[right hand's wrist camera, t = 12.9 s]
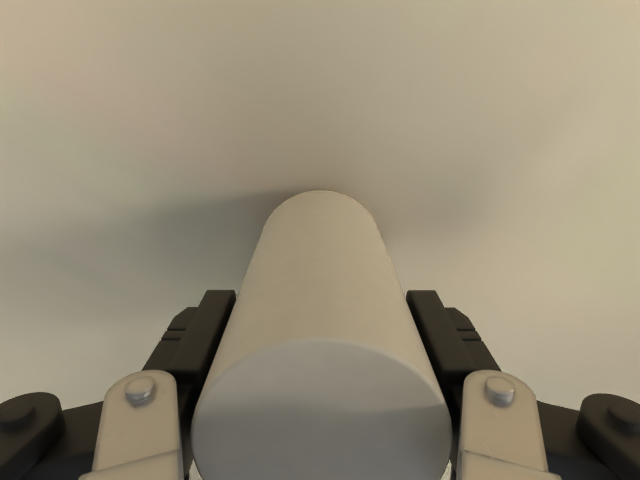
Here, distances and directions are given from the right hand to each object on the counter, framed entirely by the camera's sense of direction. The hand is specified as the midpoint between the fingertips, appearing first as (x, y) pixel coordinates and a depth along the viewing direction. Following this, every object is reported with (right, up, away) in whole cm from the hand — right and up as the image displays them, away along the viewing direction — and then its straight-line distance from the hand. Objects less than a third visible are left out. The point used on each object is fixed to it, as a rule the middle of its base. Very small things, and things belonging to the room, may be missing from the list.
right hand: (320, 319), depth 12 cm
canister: (0, +2, +5) cm, 5 cm away
